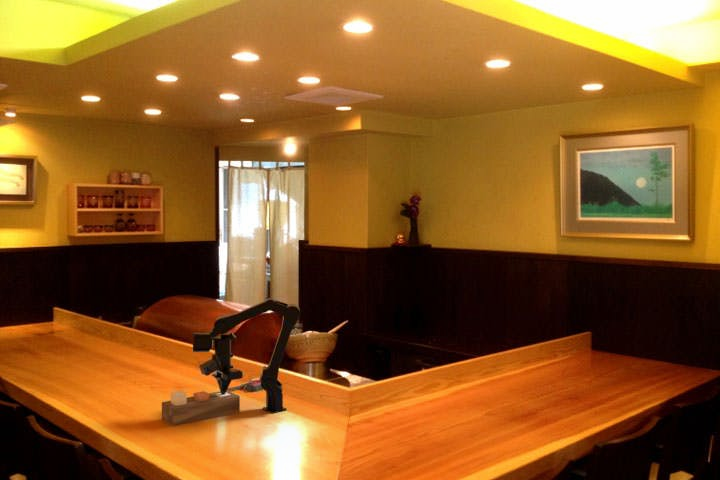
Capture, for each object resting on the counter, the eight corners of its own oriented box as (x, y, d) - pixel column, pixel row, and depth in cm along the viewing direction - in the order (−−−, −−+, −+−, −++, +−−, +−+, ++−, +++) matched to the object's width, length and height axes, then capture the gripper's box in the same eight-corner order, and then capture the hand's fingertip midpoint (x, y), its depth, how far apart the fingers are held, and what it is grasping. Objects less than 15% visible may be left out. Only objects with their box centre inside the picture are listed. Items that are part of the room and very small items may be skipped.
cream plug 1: (186, 408, 240) (186, 392, 240) (175, 410, 238) (175, 394, 238) (181, 406, 244) (181, 389, 243) (170, 408, 241) (170, 391, 241)
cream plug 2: (230, 410, 251) (230, 394, 251) (220, 412, 249) (220, 396, 249) (225, 407, 254) (225, 392, 254) (215, 409, 252) (215, 394, 252)
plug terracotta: (209, 409, 246) (209, 393, 246) (198, 411, 243) (198, 395, 243) (203, 407, 249) (203, 391, 249) (193, 409, 246) (193, 393, 246)
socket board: (239, 412, 250) (239, 396, 250) (174, 426, 235) (173, 408, 234) (226, 406, 258) (226, 390, 258) (161, 419, 242) (161, 402, 242)
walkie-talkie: (265, 383, 293) (225, 392, 278) (265, 373, 292) (225, 381, 278) (278, 387, 287) (238, 396, 272) (278, 376, 286) (238, 385, 272)
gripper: (190, 350, 253) (190, 392, 253) (214, 359, 238) (215, 404, 239) (218, 346, 260) (218, 387, 261) (243, 354, 245) (243, 398, 246)
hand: (223, 394), depth 251 cm, fingers closed, pressing on cream plug 2
